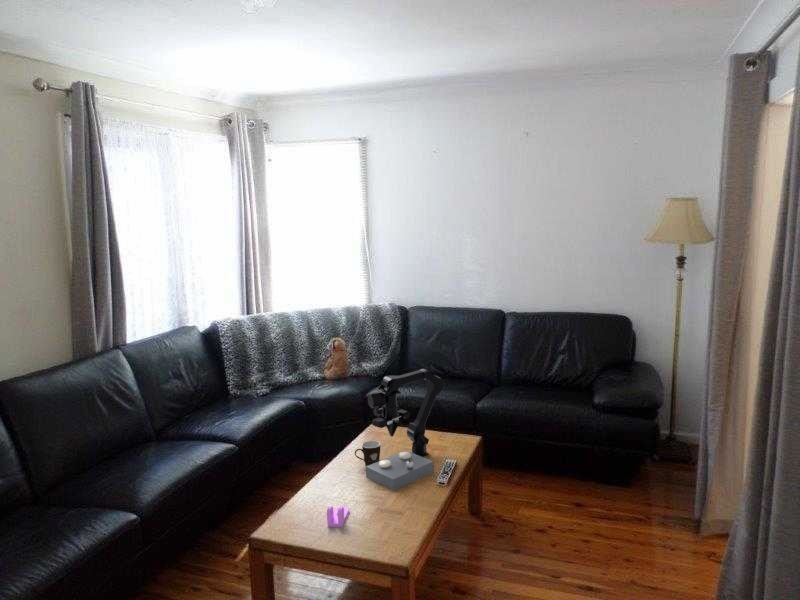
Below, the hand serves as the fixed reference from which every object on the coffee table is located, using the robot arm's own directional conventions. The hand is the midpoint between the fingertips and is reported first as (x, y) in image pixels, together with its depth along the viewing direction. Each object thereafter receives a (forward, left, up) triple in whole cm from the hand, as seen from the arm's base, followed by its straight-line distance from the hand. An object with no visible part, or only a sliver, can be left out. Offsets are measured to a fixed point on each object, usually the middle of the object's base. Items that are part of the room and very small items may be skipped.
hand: (391, 436), depth 271 cm
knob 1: (+13, +9, -10) cm, 19 cm away
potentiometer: (+7, +19, -8) cm, 21 cm away
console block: (+7, +12, -12) cm, 19 cm away
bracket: (+48, +23, -13) cm, 54 cm away
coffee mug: (+10, -6, -13) cm, 17 cm away
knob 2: (+1, +9, -10) cm, 14 cm away
